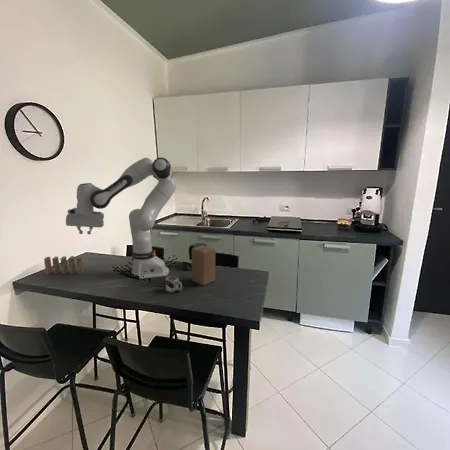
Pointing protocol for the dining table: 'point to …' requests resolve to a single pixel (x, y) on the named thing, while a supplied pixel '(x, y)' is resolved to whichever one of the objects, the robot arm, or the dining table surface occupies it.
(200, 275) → the wooden block
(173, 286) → the mug
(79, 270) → the domino
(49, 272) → the domino
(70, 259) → the domino
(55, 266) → the domino
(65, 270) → the domino
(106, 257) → the dining table surface
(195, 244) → the milk frother
